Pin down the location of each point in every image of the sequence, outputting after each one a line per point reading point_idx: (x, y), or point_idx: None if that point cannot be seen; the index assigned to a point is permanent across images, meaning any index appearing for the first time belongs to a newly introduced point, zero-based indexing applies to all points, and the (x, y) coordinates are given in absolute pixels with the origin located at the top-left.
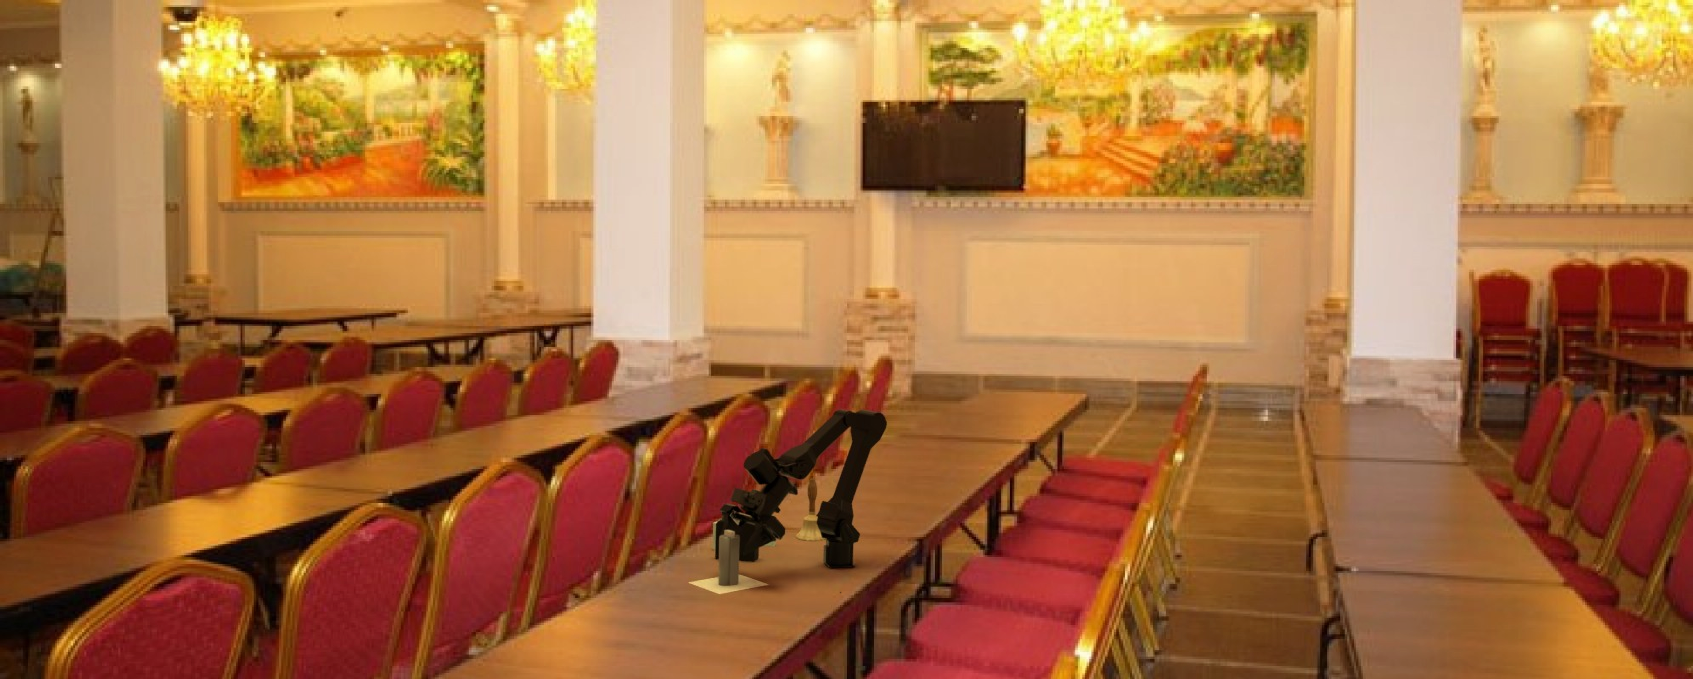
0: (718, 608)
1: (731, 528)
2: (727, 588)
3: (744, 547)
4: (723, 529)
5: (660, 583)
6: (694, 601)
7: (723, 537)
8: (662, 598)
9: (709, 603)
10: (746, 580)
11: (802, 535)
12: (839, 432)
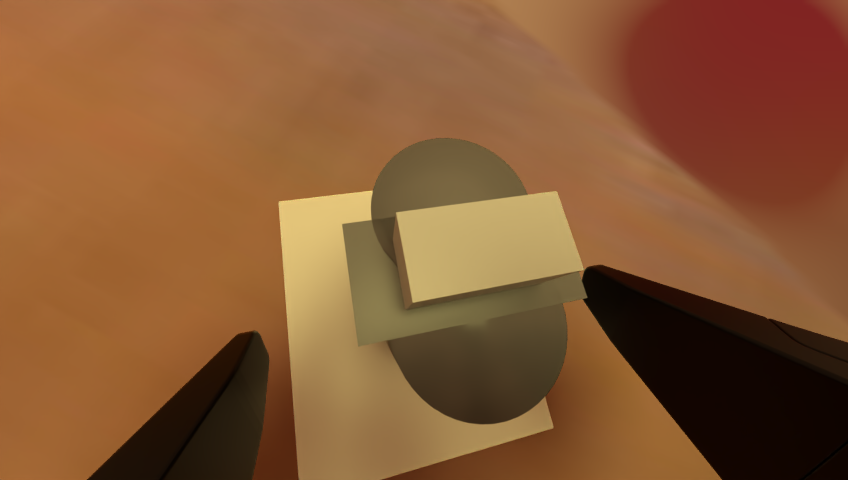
0: (130, 129)
1: (833, 466)
2: (336, 268)
3: (230, 363)
4: (789, 334)
5: (525, 117)
6: (270, 106)
7: (428, 166)
8: (358, 49)
9: (214, 133)
10: (421, 415)
11: None
12: None
